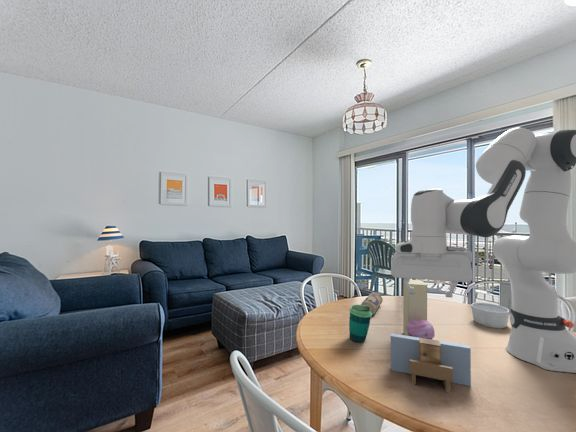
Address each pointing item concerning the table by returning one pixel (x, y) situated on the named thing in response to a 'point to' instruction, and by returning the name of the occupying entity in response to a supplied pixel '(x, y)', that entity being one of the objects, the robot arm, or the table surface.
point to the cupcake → (420, 329)
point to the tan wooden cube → (429, 351)
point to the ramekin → (490, 315)
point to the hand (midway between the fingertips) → (429, 295)
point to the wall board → (450, 370)
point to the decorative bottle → (373, 302)
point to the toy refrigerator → (414, 303)
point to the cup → (359, 322)
